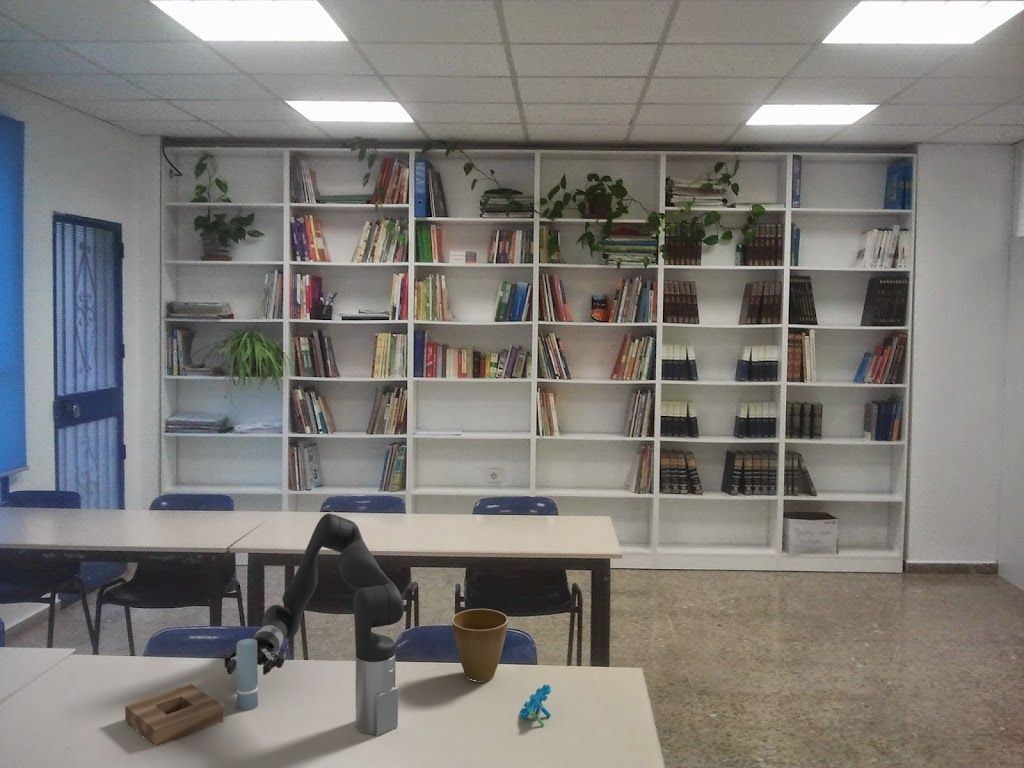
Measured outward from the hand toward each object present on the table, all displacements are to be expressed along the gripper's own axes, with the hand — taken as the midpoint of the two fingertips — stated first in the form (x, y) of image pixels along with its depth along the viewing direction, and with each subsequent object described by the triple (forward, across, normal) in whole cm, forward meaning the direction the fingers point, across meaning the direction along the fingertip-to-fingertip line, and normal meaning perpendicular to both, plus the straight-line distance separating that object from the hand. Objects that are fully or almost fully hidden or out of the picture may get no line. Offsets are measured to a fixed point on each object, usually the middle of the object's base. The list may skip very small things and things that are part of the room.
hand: (247, 670), depth 198 cm
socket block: (+8, -15, +9) cm, 19 cm away
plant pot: (-17, +57, +9) cm, 60 cm away
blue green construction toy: (+5, +70, +9) cm, 71 cm away
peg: (0, 0, +9) cm, 9 cm away
